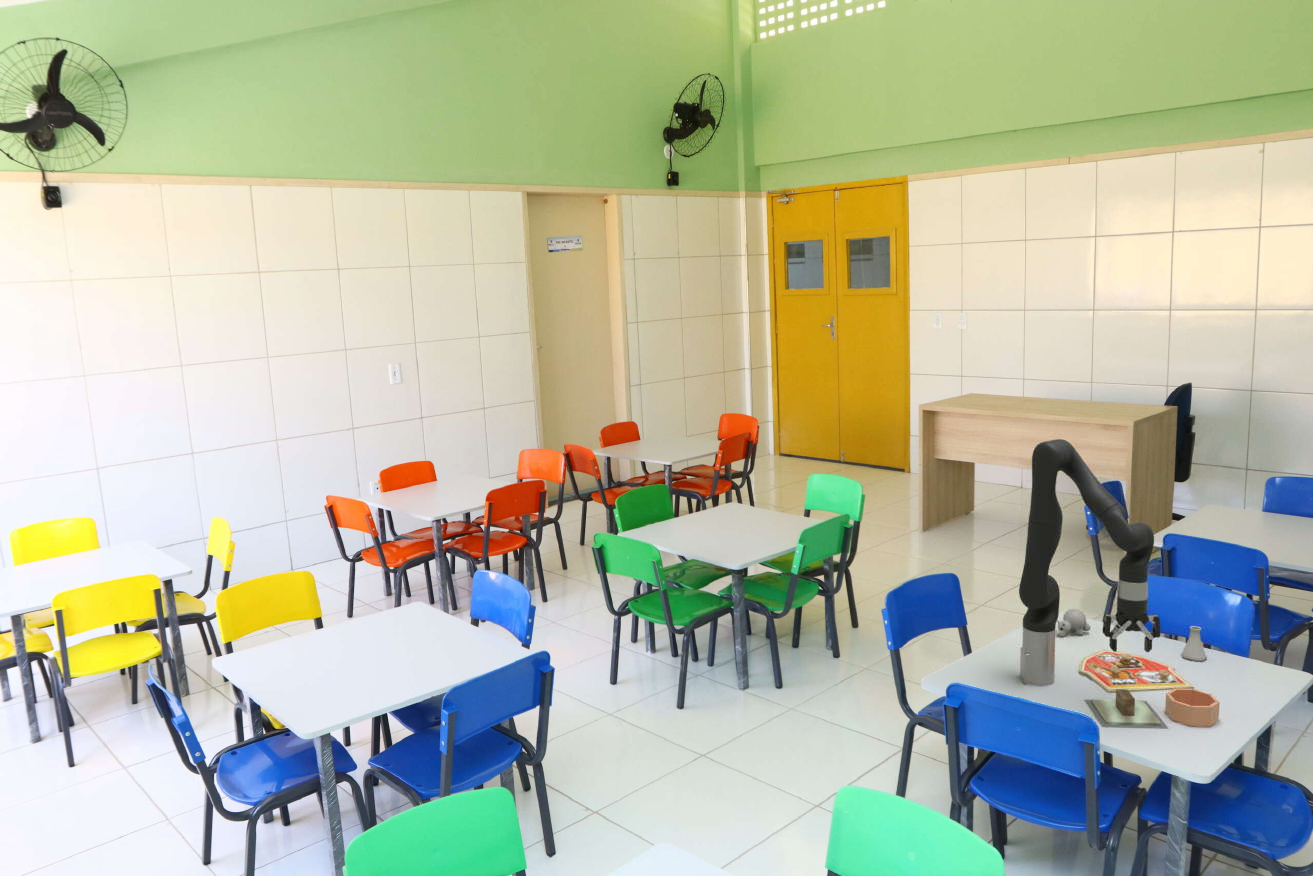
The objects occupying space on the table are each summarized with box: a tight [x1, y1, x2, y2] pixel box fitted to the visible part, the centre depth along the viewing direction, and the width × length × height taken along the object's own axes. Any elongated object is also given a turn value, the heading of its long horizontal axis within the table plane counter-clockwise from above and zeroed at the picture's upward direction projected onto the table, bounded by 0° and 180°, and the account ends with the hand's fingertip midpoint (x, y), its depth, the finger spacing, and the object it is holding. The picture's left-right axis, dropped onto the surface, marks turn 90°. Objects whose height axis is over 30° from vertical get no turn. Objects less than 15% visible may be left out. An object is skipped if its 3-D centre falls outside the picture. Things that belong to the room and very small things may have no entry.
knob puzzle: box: [1078, 649, 1195, 694], centre depth 290 cm, size 29×30×4 cm
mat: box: [1083, 699, 1169, 730], centre depth 262 cm, size 17×17×1 cm
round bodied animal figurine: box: [1055, 608, 1091, 638], centre depth 321 cm, size 7×12×8 cm, turn 106°
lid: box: [1090, 689, 1161, 726], centre depth 262 cm, size 14×14×6 cm
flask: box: [1180, 625, 1208, 662], centre depth 297 cm, size 7×7×10 cm
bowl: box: [1164, 688, 1220, 728], centre depth 258 cm, size 12×12×6 cm
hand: (1130, 651), depth 260 cm, fingers open, 8 cm apart
